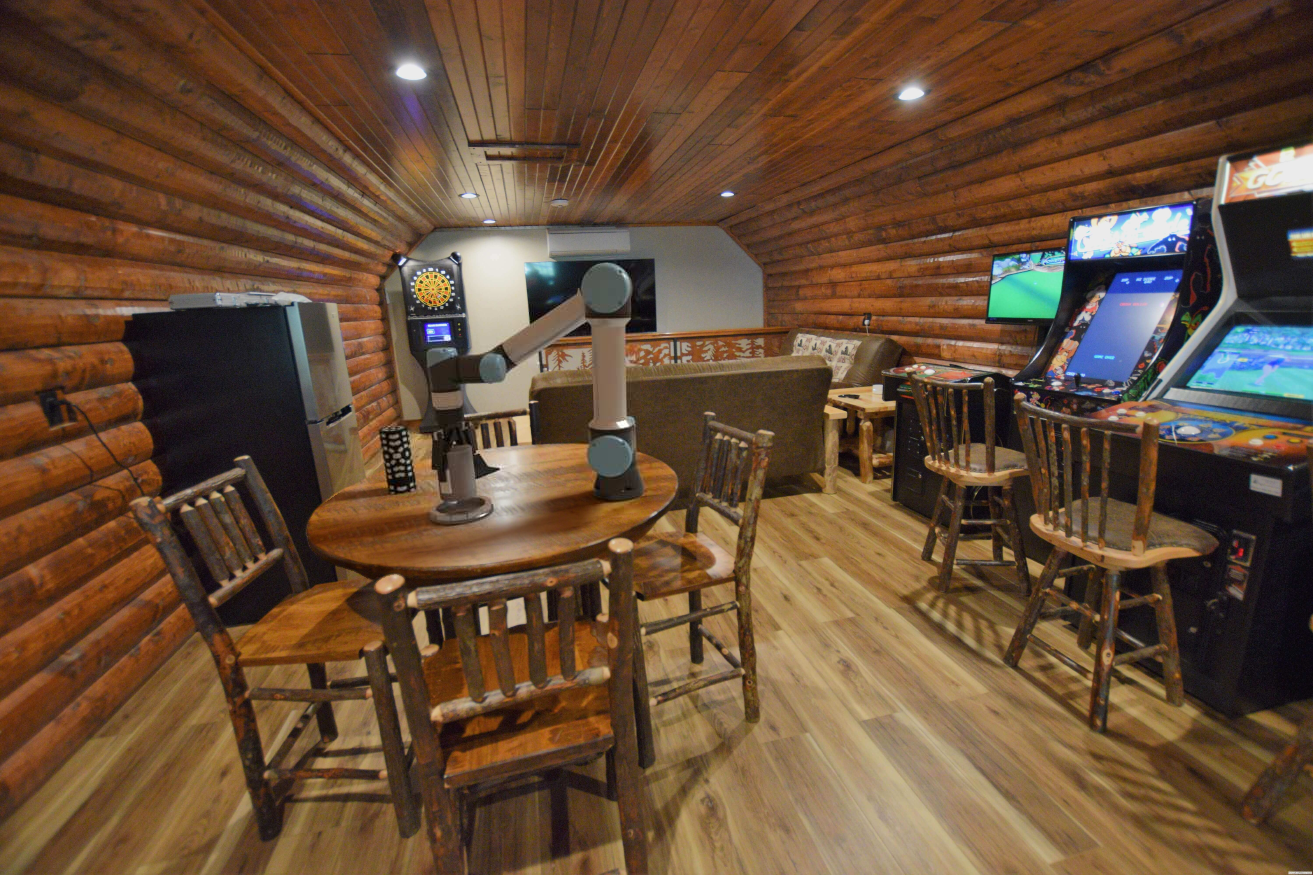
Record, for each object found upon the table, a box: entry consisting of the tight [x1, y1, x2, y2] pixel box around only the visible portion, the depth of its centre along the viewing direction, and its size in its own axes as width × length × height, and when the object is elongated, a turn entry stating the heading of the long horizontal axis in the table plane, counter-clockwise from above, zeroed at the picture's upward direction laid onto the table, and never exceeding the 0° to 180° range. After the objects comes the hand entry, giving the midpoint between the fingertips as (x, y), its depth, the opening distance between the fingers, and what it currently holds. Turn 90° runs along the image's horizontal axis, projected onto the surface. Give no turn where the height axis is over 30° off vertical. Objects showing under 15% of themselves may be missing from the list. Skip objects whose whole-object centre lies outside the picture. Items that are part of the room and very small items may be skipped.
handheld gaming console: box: [473, 452, 501, 480], centre depth 198 cm, size 12×7×10 cm
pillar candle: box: [436, 443, 478, 502], centre depth 158 cm, size 10×10×15 cm
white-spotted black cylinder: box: [378, 425, 418, 495], centre depth 181 cm, size 8×8×20 cm
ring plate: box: [428, 494, 495, 526], centre depth 160 cm, size 17×17×2 cm
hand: (458, 486), depth 159 cm, fingers closed on pillar candle, 10 cm apart
